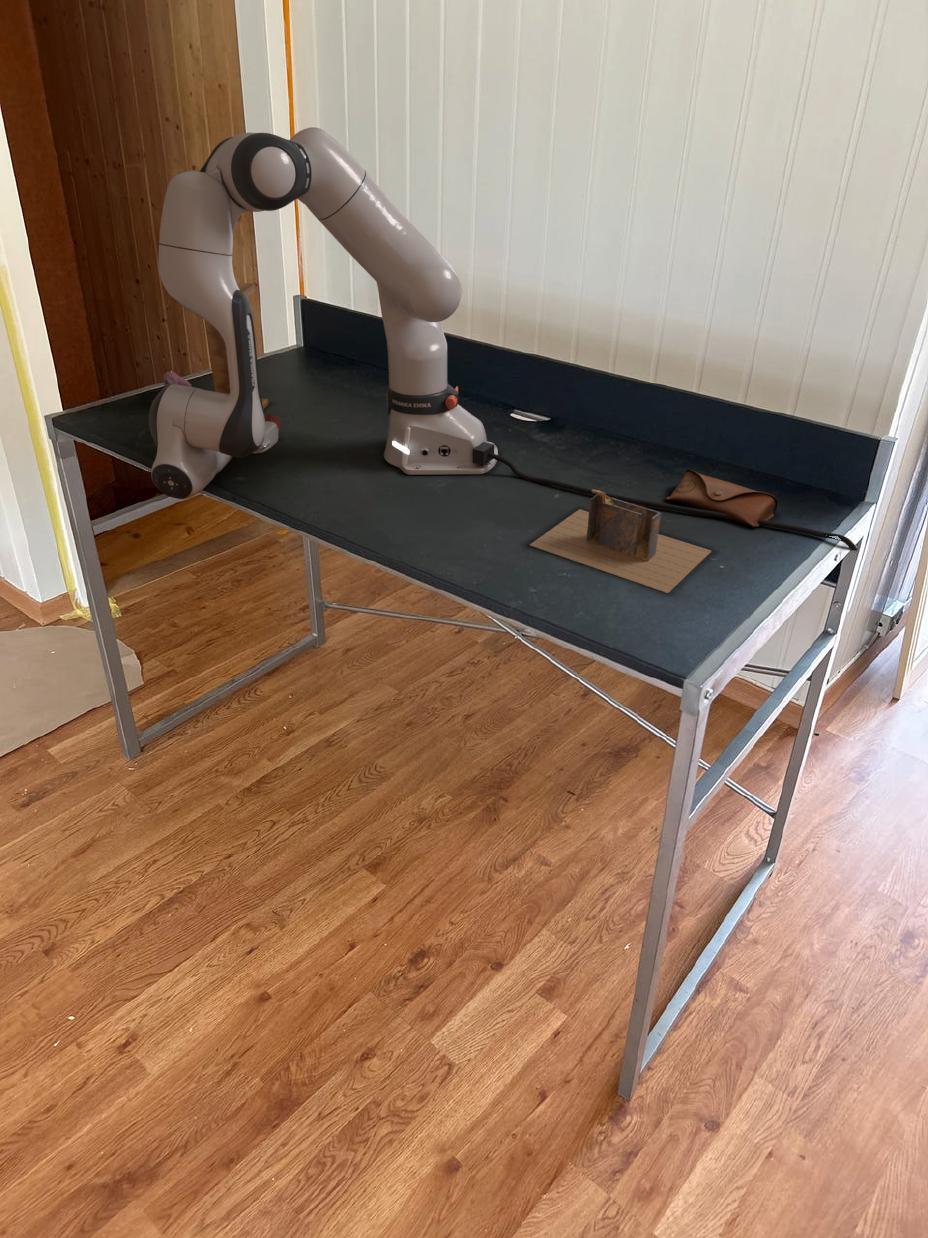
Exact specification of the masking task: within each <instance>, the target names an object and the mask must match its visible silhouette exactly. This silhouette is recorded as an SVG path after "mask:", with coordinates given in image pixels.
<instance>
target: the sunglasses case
mask: <svg viewBox="0 0 928 1238" xmlns="http://www.w3.org/2000/svg"><path fill="white" fill-rule="evenodd" d="M665 500H667V501H670V502H674V503H678V504H682V505H684V506H686V507H689V508H694V509H701V510H707V511H714V512H720V513H725V514H728V515H730V516H731V517H732V518H733V519H734V520H730V519H727V521H731V522H734V523H738V524H742V525H746V526H749V527H753V528H758V527H760V526H761V525H760V524H758V520H759V519H761V520H767V521H771V519H772V518H774V517H775V515H776V512H777V510H778V509H777V508H778V505H779V504H778V499H777V497H776V496H774V495H773V494H771V493H768V492H765V491H757V490H755V489H751V488H749V487H745V486H742V485H739V484H736V483H732V482H730V481H726V480H724V479H719V478H716V477H713V476H709V475H705V474H703V473H700V472H697V471H695V470H692V469H687V470H686V471H685V474H684V475H683V476H682V478H681V479H680V480H679V482H678V484H677V485H676V486H675V488H674V490H673V491H672V492H671V494H670V495H669V496H667V497H665Z"/></svg>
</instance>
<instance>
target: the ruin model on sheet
mask: <svg viewBox="0 0 928 1238" xmlns="http://www.w3.org/2000/svg"><path fill="white" fill-rule="evenodd" d="M590 489H591V488H590ZM591 491H592V493H595V494H597V495H593V497H591V498H590V499H589V509H588V511H586V510H584V509H581V508H580V509H579V508H578V509H577V510H576V511H575V512H573V513H572V514H571V515H569V516H568V517H566V518H565V519H563V520H562V521H560V523H558V524H557V525H555V526H554V527H552V528H551V529H550V530H548V531H547V532H545V533H544V534H543V535H541V536H540V537H539V538H537V539H535V540H534V541H533V542H532V543H530V544H529V546H530V547H534V548H536V549H539V550H541V551H545V552H548V553H550V554H553V555H557V556H560V557H562V558H565V559H568V560H571V561H573V562H577V563H579V564H583V565H585V566H588V567H591V568H594V569H596V570H600V571H603V572H606V573H608V574H611V575H614V576H617V577H620V578H623V579H624V580H625V579H626V580H628V581H630V582H634V583H637V584H641V585H643V586H646V587H649V588H652V589H654V590H657V591H660V592H663V593H666V594H669V593H670V592H671V591H672V590H673V589H674V588H675V587H676V586H677V585H679V583H680V582H682V581H683V579H685V577H686V576H688V575H689V573H691V572H692V571H693V570H694V569H695V568H696V567H697V566H698V565H699V564H700V563H701V562H703V560H704V559H705V558H707V556H709V555H710V553H712V550H711V549H707V548H704V547H701V546H699V545H695V544H692V543H688V542H685V541H682V540H678V539H676V538H673V537H669V536H666V535H663V534H659V530H660V525H661V518H662V517H661V516H662V512H661V511H657V510H654V509H651V508H648V507H645V506H642V505H639V504H634V503H628V502H625V501H621V500H618V499H615V498H611V497H608V496H607V495H606V493H607V492H605V491H602V490H600V489H594V488H592V489H591Z"/></svg>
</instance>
